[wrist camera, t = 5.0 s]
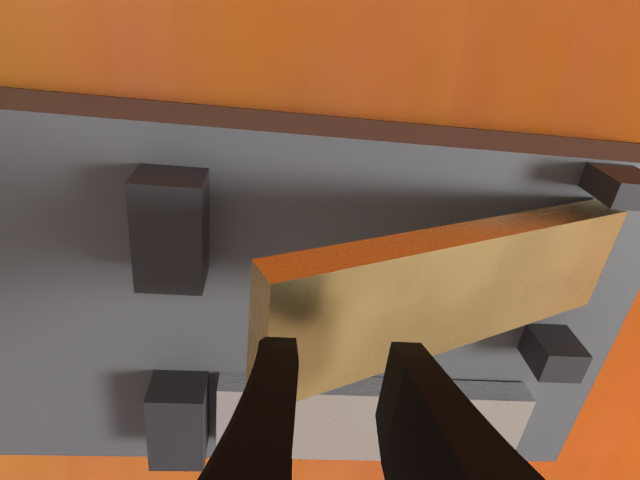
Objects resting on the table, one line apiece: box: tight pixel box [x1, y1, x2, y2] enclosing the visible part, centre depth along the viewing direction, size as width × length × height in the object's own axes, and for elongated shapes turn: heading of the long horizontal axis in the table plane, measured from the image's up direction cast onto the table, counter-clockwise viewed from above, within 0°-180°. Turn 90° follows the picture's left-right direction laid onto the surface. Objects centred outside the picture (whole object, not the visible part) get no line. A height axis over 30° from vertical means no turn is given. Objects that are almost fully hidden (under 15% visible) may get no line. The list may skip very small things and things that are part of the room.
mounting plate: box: [0, 87, 640, 471], centre depth 18 cm, size 14×24×4 cm, turn 84°
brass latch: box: [246, 199, 628, 402], centre depth 14 cm, size 12×4×1 cm, turn 83°
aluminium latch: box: [216, 372, 536, 461], centre depth 19 cm, size 12×4×1 cm, turn 84°
